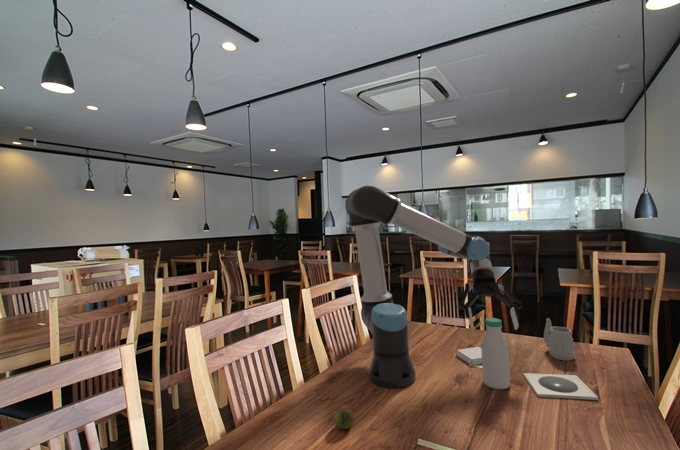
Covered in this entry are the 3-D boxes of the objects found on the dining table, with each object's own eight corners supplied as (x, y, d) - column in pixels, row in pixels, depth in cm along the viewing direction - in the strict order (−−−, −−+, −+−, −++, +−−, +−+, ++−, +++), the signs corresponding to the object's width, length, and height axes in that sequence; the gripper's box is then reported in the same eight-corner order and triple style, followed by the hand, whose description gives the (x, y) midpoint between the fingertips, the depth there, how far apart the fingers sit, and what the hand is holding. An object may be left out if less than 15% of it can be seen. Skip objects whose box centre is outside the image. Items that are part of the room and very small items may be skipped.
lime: (332, 427, 87) (331, 408, 87) (347, 420, 90) (346, 402, 90) (342, 436, 83) (341, 416, 83) (358, 428, 86) (357, 409, 86)
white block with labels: (448, 350, 132) (448, 344, 132) (474, 346, 135) (474, 340, 135) (481, 373, 113) (481, 365, 113) (511, 367, 116) (510, 360, 115)
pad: (537, 396, 96) (537, 393, 96) (523, 375, 109) (523, 372, 109) (598, 400, 93) (597, 396, 93) (576, 377, 105) (576, 375, 105)
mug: (560, 362, 117) (559, 327, 117) (536, 349, 128) (534, 318, 128) (580, 359, 118) (578, 325, 118) (554, 347, 129) (553, 316, 129)
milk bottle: (515, 389, 101) (512, 322, 100) (489, 390, 101) (485, 324, 100) (503, 377, 108) (500, 315, 108) (479, 378, 108) (475, 316, 108)
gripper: (517, 278, 125) (533, 332, 110) (446, 279, 130) (453, 332, 115) (521, 266, 119) (538, 322, 105) (447, 268, 124) (454, 321, 110)
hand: (494, 327), depth 110 cm, fingers open, 13 cm apart
